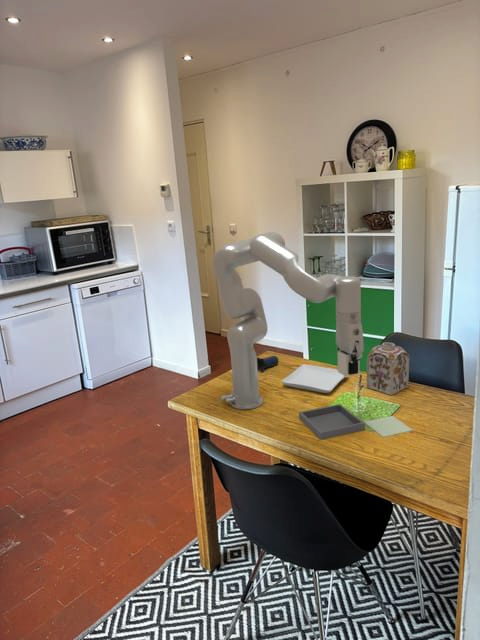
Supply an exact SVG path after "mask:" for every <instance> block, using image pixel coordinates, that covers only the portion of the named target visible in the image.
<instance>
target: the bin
mask: <svg viewBox="0 0 480 640" xmlns="http://www.w3.org/2000/svg"><path fill="white" fill-rule="evenodd" d="M298 419H299V420H300V421H301V422H302V423H303V424H304V426H306V427H307V428H308V429H309V431H311V432H312V433H313V434H314V435H315V436H316V437H317V438H318V439H319V440H320V441H323V440H327V439H331V438H335V437H341V436H344V435H349V434H354V433H359V432H362V431H365V430H366V424H365V423H364V422H365V421H363V420H362V419H360V417H358V416H357V415H355V414H354V413H353V412H351V411H350V410H349V409H348V408H346V406H344V405H343V404H342V403H338V404H333V405H328V406H323V407H317V408H314V409H313V408H312V409H307V410H301V411H299V412H298Z"/></svg>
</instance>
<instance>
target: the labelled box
mask: <svg viewBox="0 0 480 640" xmlns="http://www.w3.org/2000/svg"><path fill="white" fill-rule="evenodd" d="M353 352H355V351H353ZM354 356H355V354H354V355H352V358H353V357H354ZM360 359H361V358H360ZM360 359H359V362H358V373H357V374H352V375H349V374H348V363H349V362H350V361H349V354H348V353H347V352H345V351H343V350H342V351H338V350H337V370H338V372H339V373H341V374H342V375H344V376H345V378H346V377H350V376H355V375H360V366H361V365H360V364H361V363H360Z"/></svg>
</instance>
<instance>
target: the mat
mask: <svg viewBox="0 0 480 640" xmlns="http://www.w3.org/2000/svg"><path fill="white" fill-rule="evenodd" d="M363 422H364V423H365V425H367V426H368V427H369V428H371V429H372V430H373V431H374V432H375V433H377V434H378V435H379V436H380V437H382V438H388V437H392V436H396V435H400V434H404V433H414V430H413V429H412V428H411V427H409V426H408V425H406V424H405V423H403V422H402V421H400V420H399V419H398V418H396V417H395V416H393V415H390V416H385V417H382V418H376V419H372V420H371V419H370V420H367V421H363Z"/></svg>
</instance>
